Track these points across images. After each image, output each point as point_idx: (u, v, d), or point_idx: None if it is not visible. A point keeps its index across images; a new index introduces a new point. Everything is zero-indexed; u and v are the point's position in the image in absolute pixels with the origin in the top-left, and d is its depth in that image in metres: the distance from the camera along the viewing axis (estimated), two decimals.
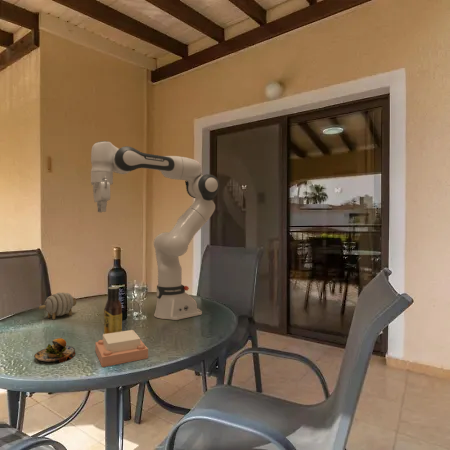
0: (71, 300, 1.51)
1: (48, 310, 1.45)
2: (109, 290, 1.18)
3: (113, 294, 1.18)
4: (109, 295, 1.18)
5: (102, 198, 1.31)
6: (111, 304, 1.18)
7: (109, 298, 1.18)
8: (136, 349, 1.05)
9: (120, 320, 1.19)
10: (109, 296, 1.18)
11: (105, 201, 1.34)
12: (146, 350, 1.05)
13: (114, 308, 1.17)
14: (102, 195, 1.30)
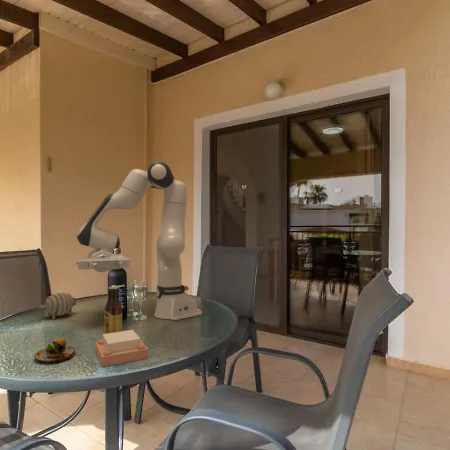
0: (71, 300, 1.51)
1: (48, 310, 1.45)
2: (109, 290, 1.18)
3: (113, 294, 1.18)
4: (109, 295, 1.18)
5: (79, 267, 1.30)
6: (111, 304, 1.18)
7: (109, 298, 1.18)
8: (136, 349, 1.05)
9: (120, 320, 1.19)
10: (109, 296, 1.18)
11: (88, 263, 1.31)
12: (146, 350, 1.05)
13: (114, 308, 1.17)
14: (78, 267, 1.31)
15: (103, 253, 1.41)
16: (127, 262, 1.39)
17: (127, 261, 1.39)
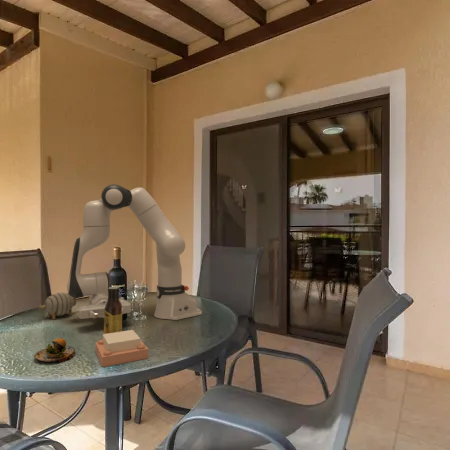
0: (71, 300, 1.51)
1: (48, 310, 1.45)
2: (109, 290, 1.18)
3: (113, 294, 1.18)
4: (109, 295, 1.18)
5: (80, 317, 1.28)
6: (111, 304, 1.17)
7: (109, 298, 1.18)
8: (136, 349, 1.05)
9: (120, 320, 1.19)
10: (109, 296, 1.18)
11: (89, 313, 1.29)
12: (146, 350, 1.05)
13: (114, 308, 1.17)
14: (79, 317, 1.29)
15: (104, 298, 1.39)
16: (128, 308, 1.37)
17: (128, 307, 1.37)
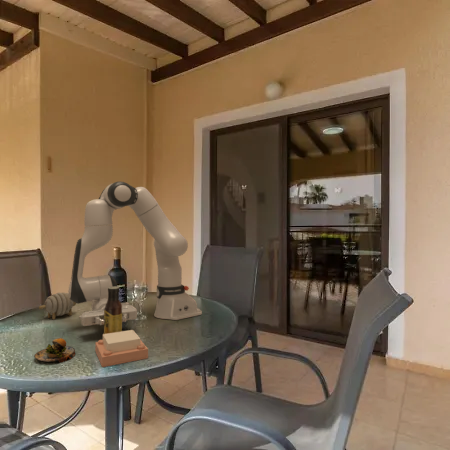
0: (71, 300, 1.51)
1: (48, 310, 1.45)
2: (109, 290, 1.18)
3: (113, 294, 1.18)
4: (109, 295, 1.18)
5: (83, 324, 1.19)
6: (111, 304, 1.18)
7: (109, 298, 1.18)
8: (136, 349, 1.05)
9: (120, 320, 1.19)
10: (109, 296, 1.18)
11: (95, 319, 1.20)
12: (146, 350, 1.05)
13: (114, 308, 1.17)
14: None
15: None
16: (134, 313, 1.28)
17: (134, 312, 1.28)
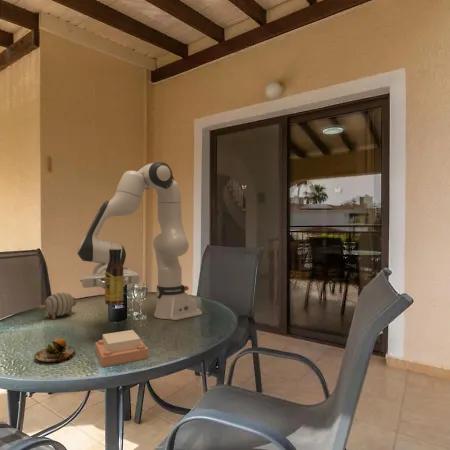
0: (71, 300, 1.51)
1: (48, 310, 1.45)
2: (111, 251, 1.15)
3: (115, 255, 1.15)
4: (110, 256, 1.16)
5: (83, 286, 1.17)
6: (112, 265, 1.15)
7: (110, 259, 1.16)
8: (136, 349, 1.05)
9: (121, 282, 1.17)
10: (110, 257, 1.16)
11: (96, 281, 1.18)
12: (146, 350, 1.05)
13: (115, 269, 1.15)
14: (82, 286, 1.17)
15: None
16: (136, 278, 1.25)
17: (136, 277, 1.25)
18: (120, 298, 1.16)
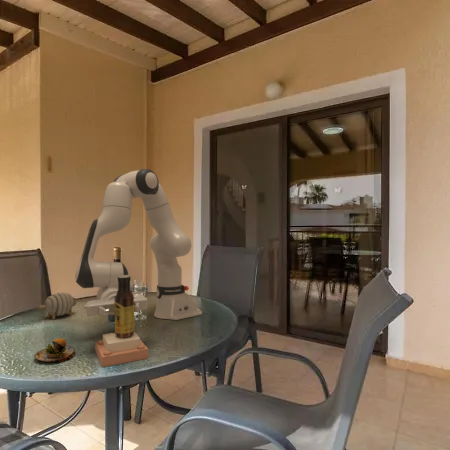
0: (71, 300, 1.51)
1: (48, 310, 1.45)
2: (119, 279, 1.06)
3: (124, 283, 1.06)
4: (119, 285, 1.06)
5: (88, 314, 1.07)
6: (122, 295, 1.06)
7: (119, 288, 1.06)
8: (136, 349, 1.05)
9: (132, 312, 1.07)
10: (119, 286, 1.06)
11: (98, 309, 1.07)
12: (146, 350, 1.05)
13: (125, 299, 1.05)
14: None
15: (115, 292, 1.18)
16: (145, 303, 1.15)
17: (144, 302, 1.15)
18: (131, 329, 1.07)
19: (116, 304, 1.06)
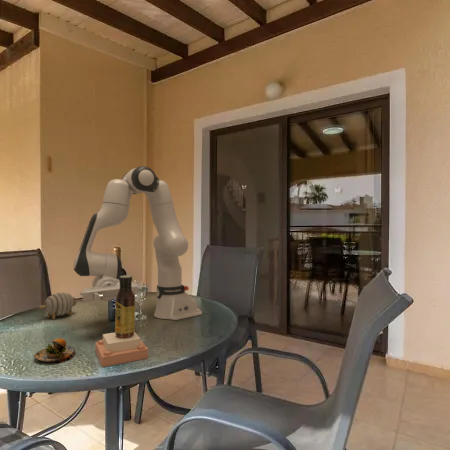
0: (71, 300, 1.51)
1: (48, 310, 1.45)
2: (121, 279, 1.06)
3: (126, 283, 1.06)
4: (121, 284, 1.07)
5: (84, 300, 1.19)
6: (123, 295, 1.06)
7: (121, 288, 1.07)
8: (136, 349, 1.05)
9: (133, 312, 1.08)
10: (121, 286, 1.07)
11: (93, 294, 1.20)
12: (146, 350, 1.05)
13: (126, 298, 1.06)
14: None
15: (109, 280, 1.30)
16: (135, 289, 1.28)
17: (135, 288, 1.28)
18: (132, 330, 1.07)
19: (117, 304, 1.06)
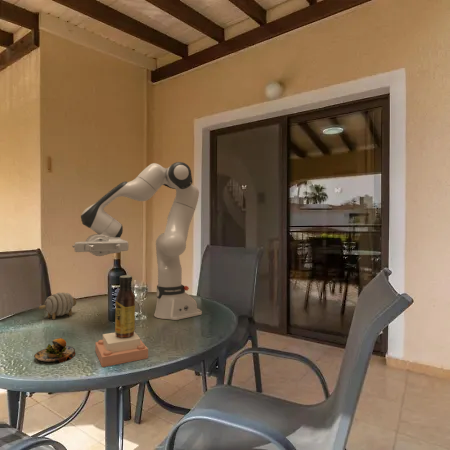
0: (71, 300, 1.51)
1: (48, 310, 1.45)
2: (121, 279, 1.06)
3: (126, 283, 1.06)
4: (121, 284, 1.07)
5: (75, 250, 1.24)
6: (123, 295, 1.06)
7: (121, 288, 1.07)
8: (136, 349, 1.05)
9: (133, 312, 1.08)
10: (121, 286, 1.07)
11: (85, 246, 1.25)
12: (146, 350, 1.05)
13: (126, 298, 1.06)
14: None
15: (101, 236, 1.35)
16: (126, 245, 1.33)
17: (126, 244, 1.33)
18: (132, 330, 1.07)
19: (117, 304, 1.06)
